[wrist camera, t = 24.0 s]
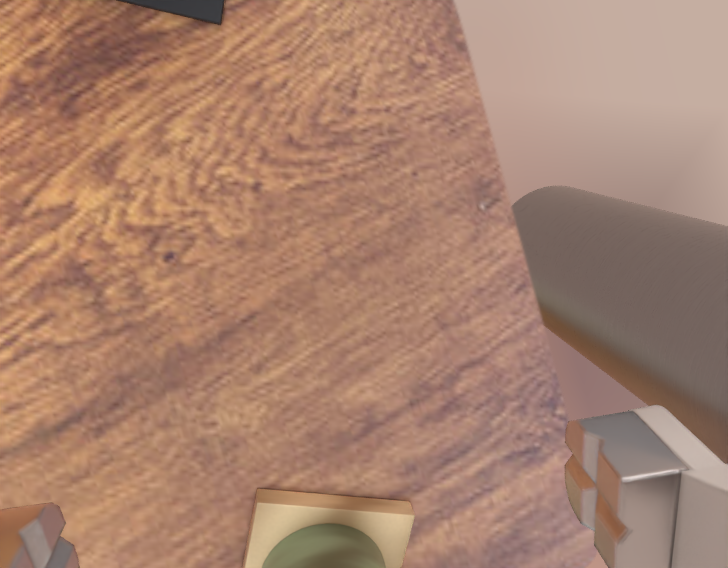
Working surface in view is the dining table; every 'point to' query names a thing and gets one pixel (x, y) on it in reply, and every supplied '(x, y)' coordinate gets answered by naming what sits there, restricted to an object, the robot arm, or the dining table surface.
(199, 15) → the mat
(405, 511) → the ring stand
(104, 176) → the dining table surface
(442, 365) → the dining table surface
